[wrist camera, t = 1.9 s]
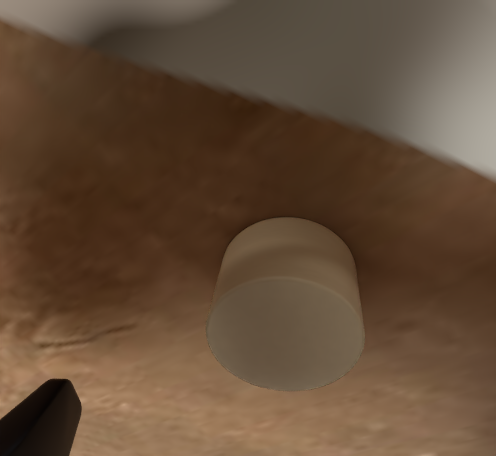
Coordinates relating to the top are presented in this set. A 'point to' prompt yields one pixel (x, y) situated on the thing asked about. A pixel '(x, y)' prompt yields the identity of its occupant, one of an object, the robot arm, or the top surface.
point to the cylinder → (286, 306)
